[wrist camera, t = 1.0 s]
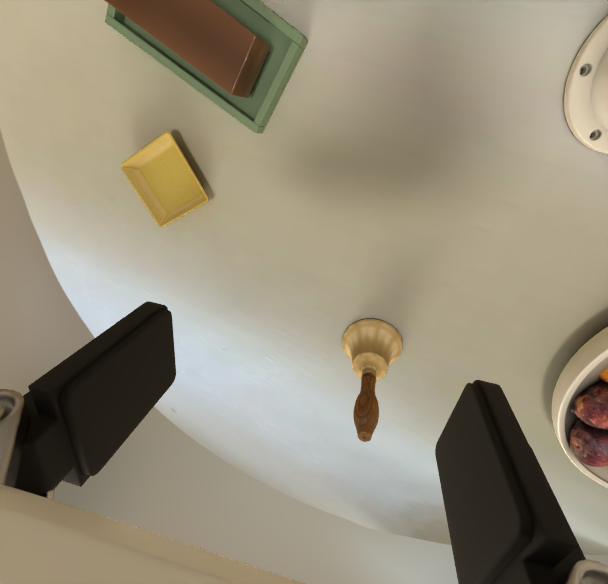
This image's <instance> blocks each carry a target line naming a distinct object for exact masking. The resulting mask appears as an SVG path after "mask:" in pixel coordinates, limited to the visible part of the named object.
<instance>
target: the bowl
mask: <svg viewBox="0 0 608 584" xmlns="http://www.w3.org/2000/svg"><path fill="white" fill-rule="evenodd" d="M551 411H552V421H553V426H554V429H555V432H556V435H557V438H558V440H559V442H560V444H561V446H562V448H563V449H564V451H565V453H566V454H567V456H568V457H569V459H570V460H571V461H572V462H573V463H574V464H575V466H576V467H577V468H579V469H580V470H581V471H582V472H583V473H584V474H586V475H587V476H588V477H590V478H591V479H593V480H594V481H596V482H598V483H599V484H601V485H603V486H605V487H607V488H608V327H606V328H605V329H603V330H602V331H600V332H599V333H598V334H596V335H595V336H594V337H592V338H591V339H590V340H589V341H588V342H586V343H585V344H584V345H583V346H582V347H581V348H580V349H579V350H578V351H577V352H576V353H575V354H574V356H573V357H572V358H571V359H570V361H569V362H568V363H567V365H566V366H565V368H564V369H563V371H562V373H561V375H560V376H559V379H558V381H557V383H556V386H555V389H554V393H553V398H552V409H551Z"/></svg>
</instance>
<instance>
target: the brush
mask: <svg viewBox="0 0 608 584" xmlns="http://www.w3.org/2000/svg"><path fill="white" fill-rule="evenodd" d="M105 1H106V2H107V3H109V4H110V5H111V6H113V7H114V8H116V9H117V10H118V11H120V12H121V13H122V14H124V15H125V16H126V17H128V18H129V19H130V20H132V21H133V22H134V23H136V24H137V25H138V26H140V27H141V28H142V29H144V30H145V31H146V32H148V33H149V34H150V35H152V36H153V37H154V38H156V39H157V40H158V41H160V42H161V43H163V44H164V45H165V46H167V47H168V48H169V49H171V50H172V51H173V52H175V53H176V54H177V55H179V56H180V57H181V58H183V59H184V60H185V61H187V62H188V63H189V64H191V65H192V66H193V67H195V68H196V69H197V70H199V71H200V72H201V73H203V74H204V75H206V76H207V77H208V78H210V79H211V80H212V81H214V82H215V83H216V84H218V85H219V86H220V87H222V88H223V89H224V90H226V91H227V92H228V93H230V94H232V95H235V96H239V97H243V98H248V96H249V94H251V93H252V91H253V89H254V87H255V85H256V82H257V80H258V78H259V76H260V74H261V71H262V69H263V67H264V65H265V63H266V60H267V58H268V56H269V54H270V51H269V49H270V46H269V45H268V44H267V43H266V42H264V41H263V40H262V39H260V38H259V37H258V36H256V35H255V34H254V33H253V32H251V31H250V30H249V29H247V28H246V27H245V26H243V25H242V24H241V23H240V22H238V21H237V20H236V19H234V18H233V17H232V16H230V15H229V14H228V13H227V12H225V11H224V10H223V9H221V8H220V7H219V6H217V5H216V4H215V3H214V2H212V1H211V0H105Z"/></svg>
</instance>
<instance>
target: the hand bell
mask: <svg viewBox="0 0 608 584" xmlns="http://www.w3.org/2000/svg"><path fill="white" fill-rule="evenodd" d="M342 346H343V349H344V352H345V353H346V355H347V356H348V358H349V359H350V360H351V361H352V367H353V371H354V372H355V374H356V375H357V376H358V377H360V378H361V379H362V382H361V392H360V394H359V396H358V397H357V400H356V403H355V407H354V422H355V426H356V429H357V434H358V438H359V439H360V440H361V441H364V442H366V441H370V439H371V437H372V434H373V432H374V430H375V428H376V425H377V423H378V417H379V407H378V402H377V398H376V396H375V383H376V381H377V380H380V379H381V378H383V377H384V376H385V375H386V373H387V370H388V366H389V365H391V364H392V363H393V362H395V361H396V360H397V358H398V357H399V356H400V354H401V351H402V339H401V337H400V335H399V333H398V331H397V330H396V329H395V328H394V327H393V326H391V325H390V324H388V323H386V322H384V321H381V320H377V319H363V320H359V321H357V322H355V323H353V324H351V325H350V326H349V327H348V328H347V329H346V331H345V332H344V335H343V338H342Z"/></svg>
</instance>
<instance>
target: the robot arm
mask: <svg viewBox="0 0 608 584" xmlns="http://www.w3.org/2000/svg"><path fill="white" fill-rule="evenodd" d="M580 68H582V69H583V73H582V74H581V75H580V73H579V72H580ZM564 110H565V116H566V119H567V122H568V126H569V127H570V129H571V131H572V132H573V134H574V136H575V137H576V138H577V139H578V140H579V141H580V142H581V143H583V144H584V145H585V146H587V147H589V148H591V149H592V150H594V151H597V152H601V153H604V154H608V16H606V17H605V18H604V20H603V21H602V22H601V23H600V24H599V25H598V26H597V27H596V29H595V30H594V31H593V32H592V33H591V34H590V36H589V37H588V39H587V40H586V42H585V43H584V45H583V46H582V48H581V49H580V51H579V53H578V55H577V57H576V59H575V61H574V63H573V65H572V67H571V69H570V73H569V76H568V79H567V82H566V87H565V94H564ZM591 133H593V136H592V137H591V138H590V134H591ZM175 376H176V366H175V353H174V339H173V326H172V314H171V312H170V311H168V308H167V307H166V306H165V305H161V304H157V303H153V302H145V303H144V304H142V305H141V306H140V307H138V308H137V309H135V310H134V311H133V312H131V313H130V314H128V315H127V316H126V317H124V318H123V319H121V320H120V321H119V322H117V323H116V324H114V325H113V326H112V327H110V328H109V329H107V330H106V331H105V332H103V333H102V334H100V335H99V336H98V337H96V338H95V339H93V340H92V341H91V342H89V343H88V344H86V345H85V346H84V347H82V348H81V349H79V350H78V351H77V352H75V353H74V354H73V355H71V356H70V357H68V358H67V359H65V360H64V361H63V362H61V363H60V364H59V365H57V366H56V367H54V368H53V369H52V370H50V371H49V372H47V373H46V374H45V375H43V376H42V377H40V378H39V379H38V380H36V381H35V382H34V383H32V384H31V385H29V386H28V387H29V390H30V391H29V392H28V393H27V394H25V395H24V396H22V395H21V394H20V393H19V392H17V391H14V390H8V389H0V584H304V583H302V582H299V581H296V580H293V579H290V578H287V577H284V576H281V575H278V574H275V573H272V572H269V571H266V570H263V569H260V568H257V567H254V566H251V565H248V564H245V563H242V562H239V561H237V560H233V559H231V558H228V557H225V556H221V555H218V554H216V553H213V552H210V551H207V550H204V549H201V548H198V547H194V546H192V545H189V544H186V543H183V542H180V541H177V540H174V539H171V538H168V537H165V536H162V535H159V534H156V533H153V532H150V531H147V530H144V529H141V528H138V527H135V526H131V525H129V524H126V523H123V522H120V521H116V520H114V519H111V518H107V517H105V516H102V515H98V514H95V513H92V512H89V511H86V510H83V509H80V508H77V507H74V506H71V505H68V504H64V503H61V502H58V501H55V500H53V498H54V490H55V487H56V486H57V485H58V484H59V483H60V482H61V481H62V480H63V481H65V482H68V483H71V484H74V485H77V486H80V487H81V486H82V485H83V484H84V483H85V482H86V480H87V479H88V478H89V477H90V476H94V475H95V474H97V473H98V472H99V471H100V470H101V469H102V468H103V467H104V465H105V464H106V463H107V462H108V461H109V459H110V458H111V457H112V456H113V454H114V453H115V452H116V451H117V450H118V449H119V447H120V446H121V445H122V444H123V443H124V441H125V440H126V439H127V438H128V437H129V435H130V434H131V433H132V432H133V431H134V429H135V428H136V427H137V426H138V424H139V423H140V422H141V421H142V419H143V418H144V417H145V416H146V415H147V414H148V412H149V411H150V410H151V409H152V408H153V406H154V405H155V404H156V403H157V402H158V400H159V399H160V398H161V397H162V396H163V394H164V393H165V392H166V391H167V390H168V388H169V387H170V386H171V385H172V383H173V382H174V380H175ZM436 460H437V466H438V471H439V477H440V483H441V488H442V494H443V499H444V505H445V511H446V516H447V522H448V527H449V533H450V539H451V544H452V550H453V555H454V561H455V566H456V572H457V578H458V583H459V584H608V566H607V565H605V564H602V563H600V562H597V561H592V560H586V559H585V557H584V555H583V552H582V550H581V548H580V546H579V544H578V542H577V540H576V538H575V536H574V534H573V532H572V530H571V528H570V526H569V524H568V522H567V520H566V518H565V516H564V514H563V512H562V510H561V508H560V505H559V503H558V501H557V499H556V497H555V495H554V493H553V491H552V489H551V487H550V485H549V483H548V481H547V479H546V477H545V475H544V473H543V471H542V469H541V467H540V465H539V463H538V461H537V458H536V456H535V454H534V452H533V450H532V448H531V447H530V445H529V444H528V442H527V440H526V438H525V436H524V434H523V432H522V430H521V428H520V425H519V423H518V421H517V419H516V417H515V415H514V413H513V411H512V409H511V407H510V405H509V403H508V401H507V399H506V397H505V395H504V393H503V391H502V389H501V387H500V386H499V385H497V384H493V383H489V382H485V381H481V380H475V381H474V382H473V384H471V383H468V384H467V385H466V386H465V388H464V390H463V392H462V394H461V396H460V398H459V400H458V402H457V404H456V406H455V408H454V410H453V412H452V414H451V416H450V418H449V420H448V422H447V424H446V426H445V428H444V430H443V432H442V434H441V436H440V438H439V440H438V442H437V444H436Z"/></svg>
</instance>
